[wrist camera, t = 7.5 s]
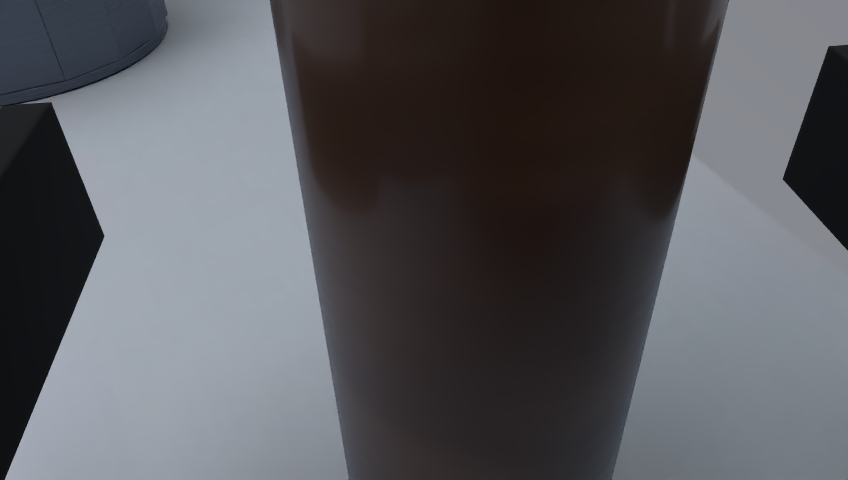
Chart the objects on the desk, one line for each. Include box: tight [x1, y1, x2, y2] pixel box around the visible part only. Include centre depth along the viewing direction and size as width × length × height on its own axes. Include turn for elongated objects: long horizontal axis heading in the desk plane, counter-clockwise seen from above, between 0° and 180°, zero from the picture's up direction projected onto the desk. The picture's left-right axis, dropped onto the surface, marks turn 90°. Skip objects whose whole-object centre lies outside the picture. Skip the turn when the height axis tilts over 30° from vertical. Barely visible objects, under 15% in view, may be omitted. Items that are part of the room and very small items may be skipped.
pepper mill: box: [270, 0, 729, 480], centre depth 10 cm, size 5×5×14 cm
